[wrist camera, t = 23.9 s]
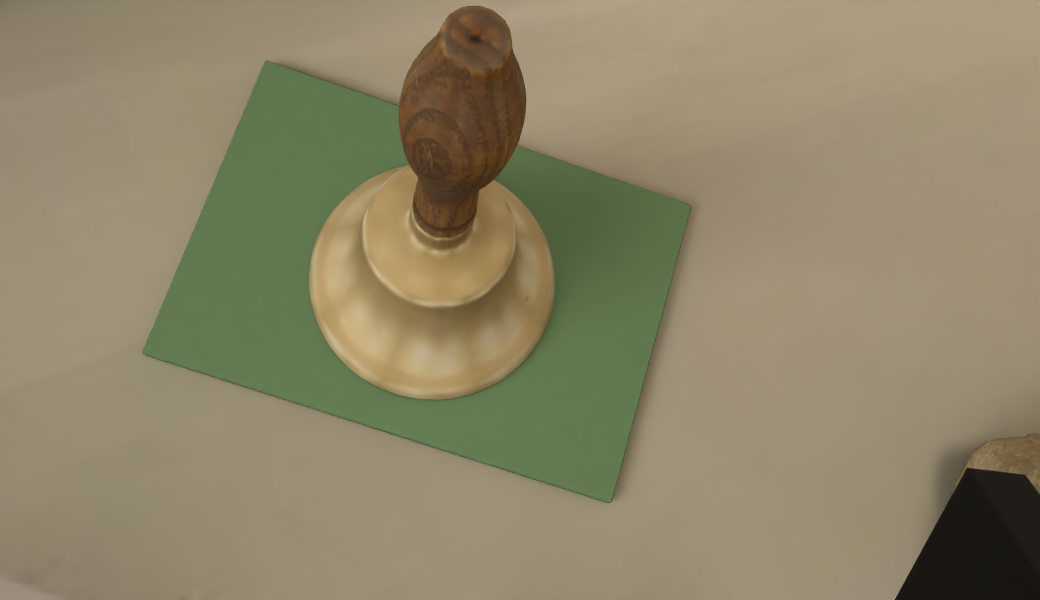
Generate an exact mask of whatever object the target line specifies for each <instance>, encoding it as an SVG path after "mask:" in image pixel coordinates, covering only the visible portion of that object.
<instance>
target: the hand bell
mask: <svg viewBox="0 0 1040 600" xmlns="http://www.w3.org/2000/svg"><path fill="white" fill-rule="evenodd" d="M525 113H526V91H525V85H524V80H523V76H522V73H521V70H520V67H519V64H518V61H517V59H516V57H515V55H514V53H513V49H512V39H511V34H510V29H509V27H508V25H507V23H506V21H505V20H504V19H503V18H502V17H500V16H499V15H498V14H497V13H495V12H494V11H493V10H491V9H488V8H485V7H482V6H467V7H462V8H460V9H458V10H456V11H454V12H453V13H451V14H450V15H449V16H448V17H447V19H446V20H445V21H444V23H443V24H442V26H441V29H440V31H439V32H438V34H437V35H436V36H435V37H434V38H433V39H432V40H431V41H430V42H429V43H428V44H427V45H426V46H425V47H424V48H423V50H422V51H421V52H420V54H419V55H418V57H417V58H416V59H415V61H414V62H413V64H412V66H411V68H410V69H409V71H408V73H407V76H406V78H405V81H404V84H403V88H402V93H401V98H400V104H399V129H400V136H401V141H402V145H403V149H404V153H405V156H406V158H407V161H408V163H409V165H406V166H401V167H397V168H394V169H391V170H388V171H385V172H382V173H380V174H378V175H376V176H374V177H372V178H370V179H368V180H367V181H365V182H364V183H362V184H360V185H359V186H358V187H356V188H355V189H354V190H352V191H351V192H350V193H349V194H348V195H347V196H345V197H344V198H343V199H342V200H341V201H340V202H339V203H338V205H337V206H336V207H335V208H334V210H333V211H332V212H331V214H330V215H329V217H328V218H327V220H326V222H325V223H324V225H323V227H322V229H321V231H320V233H319V235H318V237H317V239H316V242H315V245H314V248H313V252H312V257H311V262H310V271H309V291H310V298H311V304H312V307H313V311H314V315H315V317H316V320H317V323H318V326H319V328H320V330H321V332H322V334H323V336H324V338H325V340H326V341H327V343H328V344H329V346H330V347H331V349H332V350H333V351H334V353H335V354H336V355H337V356H338V357H339V358H340V359H341V361H342V362H343V363H344V364H345V365H346V366H347V367H348V368H349V369H351V370H352V371H353V372H354V373H355V374H357V375H358V376H359V377H361V378H363V379H364V380H366V381H368V382H369V383H371V384H372V385H375V386H377V387H379V388H381V389H384V390H386V391H389V392H392V393H394V394H397V395H400V396H405V397H410V398H415V399H421V400H426V399H430V400H443V399H453V398H458V397H462V396H467V395H470V394H473V393H476V392H478V391H481V390H483V389H486V388H488V387H490V386H492V385H494V384H496V383H498V382H499V381H501V380H502V379H504V378H505V377H507V376H508V375H509V374H510V373H512V372H513V371H514V370H515V369H516V368H517V367H518V366H520V365H521V364H522V362H523V361H524V360H525V359H526V358H527V357H528V356H529V355H530V353H531V352H532V351H533V349H534V348H535V346H536V345H537V343H538V342H539V340H540V338H541V336H542V334H543V332H544V330H545V328H546V326H547V323H548V321H549V318H550V315H551V311H552V307H553V301H554V294H555V272H554V265H553V260H552V255H551V251H550V247H549V244H548V242H547V239H546V237H545V234H544V232H543V230H542V228H541V227H540V225H539V223H538V221H537V220H536V219H535V217H534V216H533V214H532V213H531V212H530V210H529V209H528V208H527V207H526V205H525V204H524V203H523V202H522V201H521V200H520V199H519V198H518V197H517V196H516V195H515V194H513V193H512V192H511V191H510V190H508V189H507V188H506V187H505V186H503V185H502V184H500V183H498V182H497V181H495V180H494V179H495V178H496V177H497V176H498V175H499V174H500V172H501V171H502V170H503V169H504V167H505V166H506V165H507V163H508V161H509V159H510V158H511V156H512V154H513V152H514V151H515V149H516V146H517V144H518V141H519V139H520V135H521V131H522V128H523V124H524V119H525Z"/></svg>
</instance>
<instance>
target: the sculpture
mask: <svg viewBox="0 0 1040 600" xmlns="http://www.w3.org/2000/svg"><path fill="white" fill-rule="evenodd" d="M967 468H974V469H983V470H991V471H999V472H1007V473H1016V474H1024V475H1026V476H1027V478H1028V479H1029V480H1030V482H1031V483H1032V484H1033V486H1034V487H1035V488H1036V490H1037V491H1038V493H1039V494H1040V434H1036V433H1034V434H1028V435H1027V436H1026V437H1025V438H1022V437H1019V438H999V439H995V440H991V441H989V442H986V443H984V444H982V445H981V446H980V447H979V448H978V449H976V450H975V451H974V452H973V453H972V455H971V457H970V459H969V461H968V462H967V464H966V466H965V468H964V469H963V471H962V473H961V475H960V477H959V479H958V481H957V484H956V486H955V488H954V491H955V489H956V487H957V485H958V483H959V481H960V480H961V478H962V476H963V474H964V472H965V471H966V469H967Z"/></svg>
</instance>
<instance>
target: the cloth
mask: <svg viewBox="0 0 1040 600" xmlns="http://www.w3.org/2000/svg"><path fill="white" fill-rule="evenodd" d="M406 165H409V163H408V161H407V158H406V156H405V153H404V149H403V145H402V141H401V136H400V129H399V106H398V105H395V104H392V103H389V102H386V101H383V100H380V99H377V98H374V97H372V96H369V95H366V94H363V93H360V92H357V91H354V90H351V89H348V88H345V87H342V86H339V85H336V84H333V83H330V82H327V81H325V80H322V79H319V78H316V77H313V76H310V75H307V74H304V73H301V72H298V71H295V70H292V69H289V68H286V67H283V66H280V65H277V64H275V63H272V62H269V61H265V63H264V65H263V67H262V70H261V72H260V75H259V77H258V79H257V82H256V84H255V86H254V89H253V91H252V94H251V96H250V98H249V101H248V103H247V105H246V108H245V110H244V113H243V115H242V117H241V120H240V122H239V124H238V127H237V129H236V131H235V134H234V136H233V139H232V141H231V143H230V146H229V148H228V150H227V153H226V155H225V158H224V160H223V162H222V165H221V167H220V169H219V172H218V174H217V177H216V179H215V181H214V184H213V186H212V188H211V191H210V193H209V196H208V198H207V200H206V203H205V205H204V207H203V210H202V212H201V214H200V217H199V219H198V222H197V224H196V226H195V229H194V231H193V233H192V236H191V238H190V241H189V243H188V245H187V248H186V250H185V252H184V255H183V257H182V260H181V262H180V264H179V267H178V269H177V271H176V274H175V276H174V279H173V281H172V283H171V286H170V288H169V290H168V293H167V295H166V298H165V300H164V302H163V305H162V307H161V309H160V312H159V314H158V316H157V319H156V321H155V324H154V326H153V328H152V331H151V333H150V335H149V338H148V340H147V343H146V345H145V347H144V350H143V354H145V355H147V356H150V357H153V358H156V359H159V360H162V361H165V362H168V363H172V364H175V365H178V366H181V367H184V368H187V369H190V370H193V371H197V372H200V373H203V374H206V375H209V376H212V377H215V378H219V379H222V380H225V381H228V382H231V383H234V384H237V385H240V386H244V387H247V388H250V389H253V390H256V391H259V392H262V393H265V394H269V395H272V396H275V397H278V398H281V399H284V400H287V401H291V402H294V403H297V404H300V405H303V406H306V407H309V408H312V409H316V410H319V411H322V412H325V413H328V414H331V415H334V416H337V417H341V418H344V419H347V420H350V421H353V422H356V423H359V424H363V425H366V426H369V427H372V428H375V429H378V430H381V431H384V432H388V433H391V434H394V435H397V436H400V437H403V438H406V439H409V440H413V441H416V442H419V443H422V444H425V445H428V446H431V447H435V448H438V449H441V450H444V451H447V452H450V453H453V454H456V455H460V456H463V457H466V458H469V459H472V460H475V461H478V462H481V463H485V464H488V465H491V466H494V467H497V468H500V469H503V470H507V471H510V472H513V473H516V474H519V475H522V476H525V477H528V478H532V479H535V480H538V481H541V482H544V483H547V484H550V485H553V486H557V487H560V488H563V489H566V490H569V491H572V492H575V493H578V494H582V495H585V496H588V497H591V498H594V499H597V500H600V501H604V502H607V503H611V502H612V499H613V495H614V491H615V488H616V484H617V480H618V476H619V473H620V469H621V465H622V462H623V458H624V454H625V451H626V447H627V443H628V439H629V436H630V432H631V428H632V425H633V421H634V417H635V414H636V410H637V406H638V402H639V399H640V395H641V391H642V388H643V384H644V380H645V377H646V373H647V369H648V365H649V362H650V358H651V354H652V351H653V347H654V343H655V340H656V336H657V332H658V328H659V325H660V321H661V317H662V314H663V310H664V306H665V303H666V299H667V295H668V291H669V288H670V284H671V280H672V277H673V273H674V269H675V266H676V262H677V258H678V254H679V251H680V247H681V243H682V240H683V236H684V232H685V228H686V225H687V221H688V217H689V214H690V210H691V205H689V204H686V203H683V202H680V201H677V200H674V199H671V198H668V197H665V196H662V195H659V194H657V193H654V192H651V191H648V190H645V189H642V188H639V187H636V186H633V185H630V184H627V183H624V182H621V181H618V180H615V179H612V178H610V177H607V176H604V175H601V174H598V173H595V172H592V171H589V170H586V169H583V168H580V167H577V166H574V165H571V164H568V163H565V162H563V161H560V160H557V159H554V158H551V157H548V156H545V155H542V154H539V153H536V152H533V151H530V150H527V149H524V148H521V147H518V146H516V149H515V151H514V152H513V154H512V156H511V158H510V159H509V161H508V163H507V165H506V166H505V167H504V169H503V170H502V171H501V172H500V174H499V175H498V176H497V177H496V178H495V179H494V180H495V181H497V182H498V183H500V184H502V185H503V186H505V187H506V188H507V189H508V190H510V191H511V192H512V193H513V194H515V195H516V196H517V197H518V198H519V199H520V200H521V201H522V202H523V203H524V204H525V205H526V207H527V208H528V209H529V210H530V212H531V213H532V214H533V216H534V217H535V219H536V220H537V221H538V223H539V225H540V227H541V228H542V230H543V232H544V234H545V237H546V239H547V242H548V244H549V247H550V251H551V255H552V260H553V265H554V272H555V294H554V301H553V307H552V311H551V315H550V318H549V321H548V323H547V326H546V328H545V330H544V332H543V334H542V336H541V338H540V340H539V342H538V343H537V345H536V346H535V348H534V349H533V351H532V352H531V353H530V355H529V356H528V357H527V358H526V359H525V360H524V361H523V362H522V364H521V365H520V366H518V367H517V368H516V369H515V370H514V371H513V372H512V373H510V374H509V375H508V376H507V377H505V378H504V379H502V380H501V381H499V382H498V383H496V384H494V385H492V386H490V387H488V388H486V389H483V390H481V391H478V392H476V393H473V394H470V395H467V396H462V397H458V398H453V399H443V400H430V399H426V400H421V399H415V398H410V397H405V396H400V395H397V394H394V393H392V392H389V391H386V390H384V389H381V388H379V387H377V386H375V385H372V384H371V383H369V382H368V381H366V380H364V379H363V378H361V377H359V376H358V375H357V374H355V373H354V372H353V371H352V370H351V369H349V368H348V367H347V366H346V365H345V364H344V363H343V362H342V361H341V359H340V358H339V357H338V356H337V355H336V354H335V353H334V351H333V350H332V349H331V347H330V346H329V344H328V343H327V341H326V340H325V338H324V336H323V334H322V332H321V330H320V328H319V326H318V323H317V320H316V317H315V315H314V311H313V307H312V304H311V298H310V291H309V271H310V262H311V257H312V252H313V248H314V245H315V242H316V239H317V237H318V235H319V233H320V231H321V229H322V227H323V225H324V223H325V222H326V220H327V218H328V217H329V215H330V214H331V212H332V211H333V210H334V208H335V207H336V206H337V205H338V203H339V202H340V201H341V200H342V199H343V198H344V197H345V196H347V195H348V194H349V193H350V192H351V191H352V190H354V189H355V188H356V187H358V186H359V185H360V184H362V183H364V182H365V181H367V180H368V179H370V178H372V177H374V176H376V175H378V174H380V173H382V172H385V171H388V170H391V169H394V168H397V167H401V166H406Z"/></svg>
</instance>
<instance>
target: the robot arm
mask: <svg viewBox="0 0 1040 600" xmlns="http://www.w3.org/2000/svg"><path fill="white" fill-rule="evenodd" d="M895 600H1040V494H1039V493H1038V491H1037V490H1036V488H1035V487H1034V486H1033V484H1032V483H1031V482H1030V480H1029V479H1028V478H1027V476H1026V475H1024V474H1016V473H1007V472H999V471H991V470H983V469H974V468H967V469H966V471H965V472H964V474H963V476H962V478H961V480H960V481H959V483H958V485H957V487H956V489H955V491H954V492H953V494H952V496H951V498H950V500H949V502H948V503H947V505H946V507H945V509H944V511H943V513H942V514H941V516H940V518H939V520H938V522H937V524H936V525H935V527H934V529H933V531H932V533H931V535H930V536H929V538H928V540H927V542H926V544H925V546H924V547H923V549H922V551H921V553H920V555H919V557H918V558H917V560H916V562H915V564H914V566H913V567H912V569H911V571H910V573H909V575H908V577H907V578H906V580H905V582H904V584H903V586H902V588H901V589H900V591H899V593H898V595H897V597H896V599H895Z"/></svg>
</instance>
